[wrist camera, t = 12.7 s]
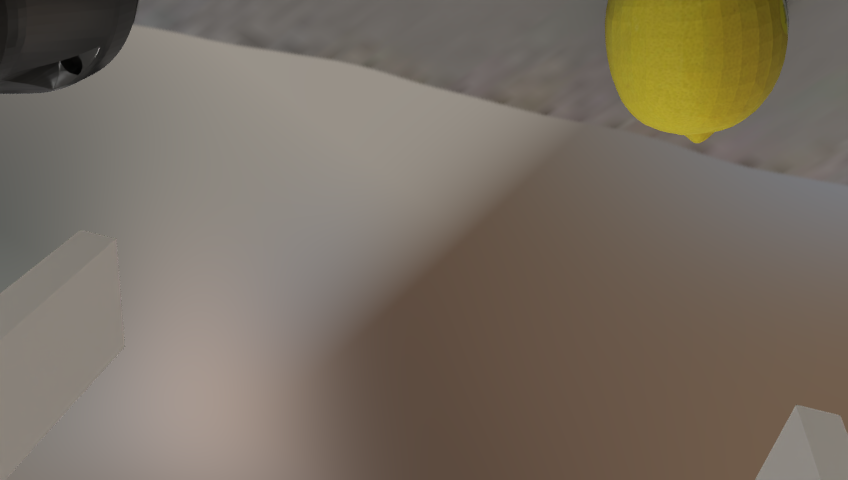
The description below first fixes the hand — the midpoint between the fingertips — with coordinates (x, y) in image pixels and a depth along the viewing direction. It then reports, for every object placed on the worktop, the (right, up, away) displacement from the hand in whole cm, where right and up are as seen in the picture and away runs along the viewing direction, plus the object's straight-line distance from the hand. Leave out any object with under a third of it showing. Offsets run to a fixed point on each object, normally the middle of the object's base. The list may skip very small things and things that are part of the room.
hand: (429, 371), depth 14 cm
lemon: (+13, +14, +23) cm, 30 cm away
